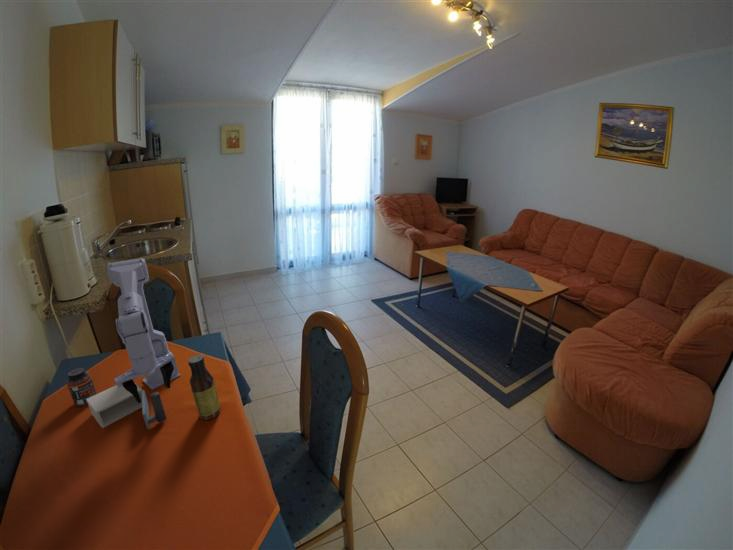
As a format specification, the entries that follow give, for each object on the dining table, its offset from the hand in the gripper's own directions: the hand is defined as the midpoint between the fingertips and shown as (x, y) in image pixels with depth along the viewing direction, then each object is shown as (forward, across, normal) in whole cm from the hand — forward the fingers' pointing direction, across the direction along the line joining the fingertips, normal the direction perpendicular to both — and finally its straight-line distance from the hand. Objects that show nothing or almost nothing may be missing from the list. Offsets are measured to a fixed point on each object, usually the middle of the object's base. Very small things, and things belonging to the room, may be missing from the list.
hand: (153, 393), depth 97 cm
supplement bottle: (+11, -12, +29) cm, 33 cm away
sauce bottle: (+11, +11, -8) cm, 17 cm away
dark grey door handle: (+10, 0, +5) cm, 11 cm away
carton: (+10, -6, +16) cm, 20 cm away
